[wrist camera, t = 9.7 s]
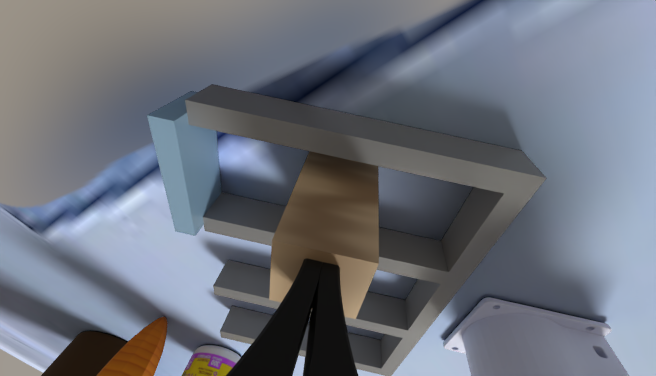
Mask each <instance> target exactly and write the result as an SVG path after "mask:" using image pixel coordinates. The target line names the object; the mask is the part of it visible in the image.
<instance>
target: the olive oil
mask: <svg viewBox="0 0 656 376" xmlns="http://www.w3.org/2000/svg"><path fill="white" fill-rule="evenodd" d="M126 343H127V342H126V341H124V340H122V339H119V338H117V337H114V336H111V335H108V334H105V333H101V332H95V331H85V332H81V333H80V334H78V335H77V336H76V338H75V339H74V340H73V341H72V342H71V343H70V344H69V345H68V346H67V347H66V349H65V350H64V351H63V352H62V353H61V354H60V355H59V356H58V357H57V359H56V360H55V361H54V362H53V363H52V364H51V365H50V366H49V367H48V368H47V370H46V371H45V372H44V373H43V374H42V375H41V376H97V374H98V373H99V372H100V371H101V370H102V369H103V368H104V367H105V365H106V364H107V363H108V362H109V361H110V360H111V359H112V358H113V357H114V356H115V355H116V354H117V353H118V352H119V351H120V350H121V349H122V347H123V346H124V345H125V344H126Z"/></svg>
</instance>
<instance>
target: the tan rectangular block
mask: <svg viewBox="0 0 656 376" xmlns="http://www.w3.org/2000/svg"><path fill="white" fill-rule="evenodd" d="M306 258H308V259H312V260H317V261H321V262H326V263H330V264H335V265H338V266H339V267H340V286H341V296H342V304H343V310H344V316H345V317H348V318H353V319H356V317H357V315H358V312H359V310H360V307H361V305H362V303H363V300H364V298H365V295H366V293H367V291H368V288H369V286H370V284H371V281H372V279H373V276H374V274H375V272H376V269H377V267H378V264H379V195H378V166H375V165H371V164H366V163H361V162H357V161H352V160H348V159H343V158H339V157H334V156H329V155H325V154H320V153H316V152H311V151H309V153H308V156H307V158H306V161H305V163H304V165H303V168H302V170H301V172H300V175H299V177H298V180H297V182H296V184H295V187H294V189H293V191H292V194H291V196H290V199H289V201H288V203H287V206H286V208H285V210H284V213H283V215H282V218H281V220H280V222H279V225H278V227H277V230H276V232H275V234H274V237H273V239H272V251H271V272H270V294H269V300H272V301H277V302H282V301H283V299H284V297H285V296H286V294H287V293H288V291H289V289H290V288H291V286H292V284H293V282H294V280H295V278H296V276H297V275H298V272H299V270H300V268H301V266H302V263H303V260H304V259H306ZM321 266H322V265H321ZM320 271H321V270H320Z"/></svg>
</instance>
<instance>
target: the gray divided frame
mask: <svg viewBox="0 0 656 376" xmlns="http://www.w3.org/2000/svg"><path fill="white" fill-rule="evenodd" d="M147 117H148V121H149V125H150V129H151V133H152V138H153V142H154V146H155V150H156V154H157V158H158V162H159V166H160V170H161V174H162V178H163V183H164V187H165V191H166V195H167V199H168V203H169V207H170V211H171V215H172V219H173V223H174V227H175V231H176V232H181V233H185V234H190V235H194V236H195V235H196V234H197V233H198V231H199V230H200V229H201V227H202V226H203V225H204V228H205V231H208V232H212V233H217V234H221V235H226V236H230V237H234V238H239V239H243V240H248V241H252V242H257V243H261V244H265V245H270V246H272V239H273V237H274V234H275V232H276V230H277V227H278V225H279V222H280V220H281V218H282V215H283V213H284V210H285V208H286V207H285V206H281V205H276V204H272V203H267V202H263V201H258V200H254V199H249V198H245V197H240V196H236V195H231V194H227V193H222V190H221V179H220V168H219V156H218V145H217V134H216V131H219V132H224V133H229V134H233V135H238V136H242V137H247V138H252V139H256V140H261V141H265V142H270V143H274V144H279V145H284V146H288V147H293V148H297V149H302V150H306V151H311V152H316V153H320V154H325V155H329V156H334V157H339V158H343V159H348V160H352V161H357V162H361V163H366V164H371V165H375V166H380V167H384V168H389V169H394V170H398V171H403V172H407V173H412V174H416V175H421V176H426V177H430V178H435V179H439V180H444V181H449V182H453V183H458V184H462V185H467V186H471V187H474V188H473V189H472V191H471V193H470V194H469V196H468V197H467V199H466V201H465V202H464V204H463V206H462V207H461V209H460V211H459V212H458V214H457V216H456V217H455V219H454V221H453V222H452V224H451V226H450V227H449V229H448V231H447V232H446V234H445V235H444V237H443V239H442V240H441V241H438V240H433V239H429V238H425V237H420V236H416V235H411V234H407V233H402V232H398V231H393V230H389V229H384V228H380V227H379V264H378V267H377V269H376V270H381V271H385V272H389V273H394V274H398V275H403V276H407V277H411V278H416V279H418V280H417V282H416V283H415V285H414V287H413V288H412V290H411V292H410V293H409V295H408V297H407V298H406V300H402V299H398V298H394V297H389V296H385V295H380V294H376V293H372V292H367V293H366V295H365V298H364V300H363V303H362V305H361V307H360V310H359V312H358V315H357V317H356V319H353V318H348V317H345V321H346V325H349V326H353V327H357V328H362V329H366V330H370V331H375V332H379V333H383V334H385V335H384V336H383V338H382V340H378V339H373V338H369V337H365V336H360V335H356V334H352V333H348V337H349V341H350V346H351V350H352V354H353V358H354V362H355V366H356V369H359V370H364V371H368V372H372V373H377V374H381V375H385V376H391V375H392V374H393V373H394V372H395V370H396V369H397V368H398V366H399V365H400V364H401V363H402V361H403V360H404V359H405V358H406V356H407V355H408V354H409V352H410V351H411V350H412V349H413V347H414V346H415V345H416V344H417V342H418V341H419V340H420V338H421V337H422V336H423V335H424V333H425V332H426V331H427V330H428V328H429V327H430V326H431V324H432V323H433V322H434V321H435V319H436V318H437V317H438V316H439V314H440V313H441V312H442V310H443V309H444V308H445V307H446V305H447V304H448V303H449V302H450V300H451V299H452V298H453V296H454V295H455V294H456V293H457V291H458V290H459V289H460V288H461V286H462V285H463V284H464V282H465V281H466V280H467V279H468V277H469V276H470V275H471V274H472V272H473V271H474V270H475V268H476V267H477V266H478V265H479V263H480V262H481V261H482V260H483V258H484V257H485V256H486V254H487V253H488V252H489V251H490V249H491V248H492V247H493V246H494V244H495V243H496V242H497V240H498V239H499V238H500V237H501V235H502V234H503V233H504V232H505V230H506V229H507V228H508V226H509V225H510V224H511V223H512V221H513V220H514V219H515V218H516V216H517V215H518V214H519V212H520V211H521V210H522V209H523V207H524V206H525V205H526V204H527V202H528V201H529V200H530V198H531V197H532V196H533V195H534V193H535V192H536V191H537V190H538V188H539V187H540V186H541V184H542V183H543V182H544V181H545V179H546V177H545V176H544V175H543V174H542V173H541V171H540V170H539V169H538V168H537V167H536V166H535V165H534V164H533V162H532V161H531V160H530V159H529V158H528V157H527V156H526V155H525V153H524V152H523V151H520V150H516V149H511V148H506V147H502V146H497V145H492V144H488V143H483V142H479V141H474V140H469V139H465V138H460V137H455V136H451V135H446V134H441V133H437V132H432V131H427V130H423V129H418V128H413V127H409V126H404V125H399V124H395V123H390V122H385V121H381V120H376V119H371V118H367V117H362V116H357V115H353V114H348V113H343V112H339V111H334V110H330V109H325V108H320V107H316V106H311V105H306V104H302V103H297V102H292V101H288V100H283V99H278V98H274V97H269V96H264V95H260V94H255V93H250V92H246V91H241V90H236V89H232V88H227V87H222V86H218V85H213V84H212V85H210V86H208V87H207V88H205V89H203V90H201V91H200V92H194V91H190V92H188V93H187V94H185V95H183V96H181V97H179V98H178V99H176V100H174V101H172V102H170V103H168V104H167V105H165V106H163V107H161V108H159V109H158V110H156V111H154V112H152V113H150V114H149V115H147ZM270 272H271V269H266V268H262V267H257V266H253V265H249V264H244V263H240V262H235V261H231V260H227V262H226V264H225V266H224V267H223V269H222V271H221V273H220V275H219V276H218V278H217V280H216V282H215V284H214V285H213V287H214V294H215V295H219V296H223V297H227V298H232V299H236V300H240V301H245V302H249V303H253V304H258V305H262V306H266V307H271V308H275V309H278V307H279V305H280V304H281V302H277V301H272V300H269V294H270ZM311 311H312V310H311ZM310 315H311V314H310ZM272 316H273V315H269V314H265V313H261V312H256V311H252V310H248V309H243V308H239V307H235V306H231V309H230V311H229V313H228V315H227V317H226V320H225V322H224V324H223V326H222V328H221V330H220V333H221V337H222V338H227V339H231V340H235V341H240V342H244V343H248V344H252V343H253V342H254V341H255V339H256V338H257V337H258V335H259V334H260V333H261V331H262V330H263V329H264V327H265V326H266V324H267V323H268V322H269V320H270V319H271V317H272ZM308 331H309V324H308V325H307V328H306V331H305V335H304V338H303V341H302V345H301V348H300V351H299V355H300V356H304V357H305V355H306V347H307V339H308Z"/></svg>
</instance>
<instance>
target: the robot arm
mask: <svg viewBox="0 0 656 376" xmlns="http://www.w3.org/2000/svg"><path fill="white" fill-rule="evenodd" d="M321 265H322V266H321ZM320 270H321V271H320ZM311 310H312V311H311ZM310 314H311V315H310ZM309 318H310V322H309V331H308V339H307V347H306V355H305V364H304V372H303V376H358V373H357V370H356V366H355V362H354V358H353V354H352V350H351V346H350V341H349V337H348V332H347V327H346V321H345V316H344V310H343V304H342V296H341V286H340V267H339V266H338V265H335V264H330V263H326V262H321V261H317V260H312V259H308V258H306V259H304V260H303V263H302V266H301V268H300V270H299V272H298V275H297V276H296V278H295V280H294V282H293V284H292V286H291V288H290V289H289V291H288V293H287V294H286V296H285V297H284V299H283V301H282V302H281V304H280V305H279V307H278V309H277V310H276V312H275V313H274V314H273V316H272V317H271V319H270V320H269V322H268V323H267V324H266V326H265V327H264V329H263V330H262V331H261V333H260V334H259V335H258V337H257V338H256V339H255V341H254V342H253V343H252V345H251V346H250V347H249V348H248V350H247V351H246V352H245V353H244V355H243V356H242V357H241V358H240V359H239V361H238V362H237V363H236V364H235V365H234V367H233V368H232V369H231V370H230V371H229V372H228V374H227V375H226V376H292V375H293V371H294V368H295V365H296V361H297V358H298V355H299V351H300V348H301V345H302V341H303V338H304V335H305V331H306V328H307V325H308V321H309ZM611 331H612V329H611V328H610V326H609V325H608V324H605V323H601V322H597V321H592V320H588V319H583V318H579V317H575V316H570V315H566V314H561V313H557V312H552V311H548V310H544V309H539V308H535V307H530V306H526V305H521V304H517V303H513V302H508V301H504V300H499V299H495V298H490V297H487V298H484V299H482V300H481V301H480V302H479V304H478V305H477V306H476V307H475V308H474V309H473V310H472V311H471V312H470V313H469V315H468V316H467V317H466V318H465V319H464V320H463V321H462V322H461V323H460V324H459V326H458V327H457V328H456V329H455V330H454V331H453V332H452V333H451V334H450V335H449V337H448V338H447V339H446V340H445V341H444V342H443V346H444V348H445V349H448V350H452V351H456V352H461V353H465V354H466V356H467V360H468V364H469V368H470V372H471V376H629V374H628V373H627V371H626V370H625V368H624V367H623V365H622V364H621V362H620V361H619V359H618V358H617V356H616V354H615V353H614V351H613V350H612V348H611V347H610V345H609V344H608V342H607V341H606V339H605V338H604V336H606V335H607V334H609V333H610V332H611Z"/></svg>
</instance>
